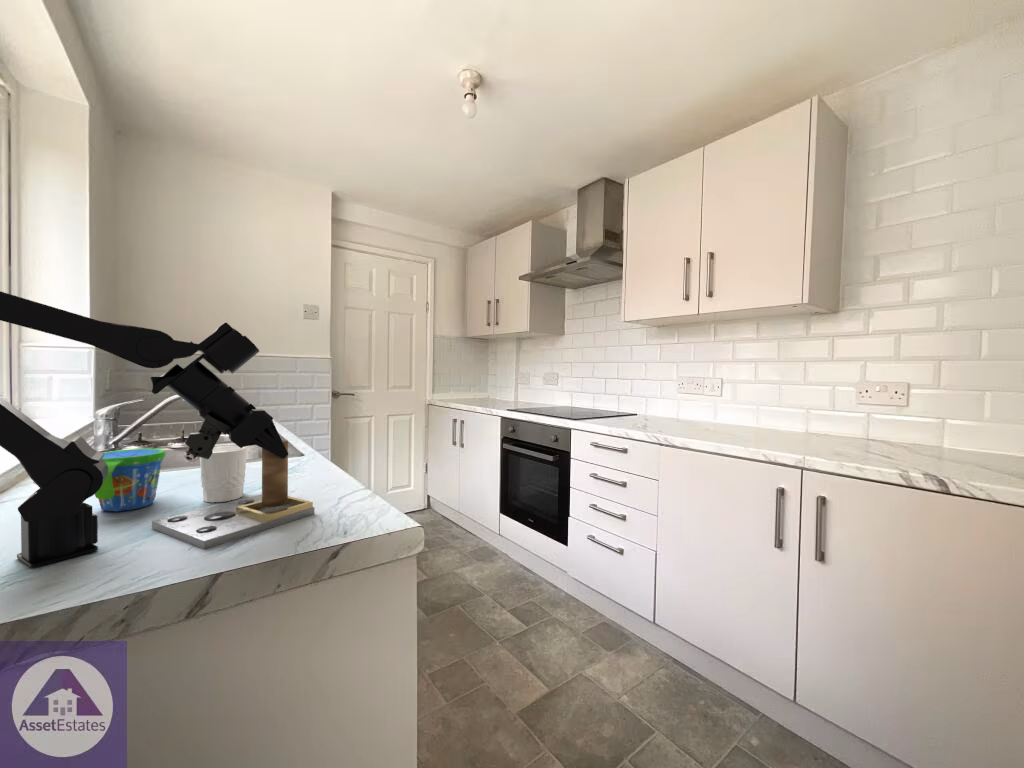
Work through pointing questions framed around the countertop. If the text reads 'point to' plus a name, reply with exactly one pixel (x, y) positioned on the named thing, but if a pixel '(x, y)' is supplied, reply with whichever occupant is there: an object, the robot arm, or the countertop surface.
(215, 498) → the white cup
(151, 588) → the countertop surface
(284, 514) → the flange plate
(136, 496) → the snack cup
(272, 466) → the dowel
